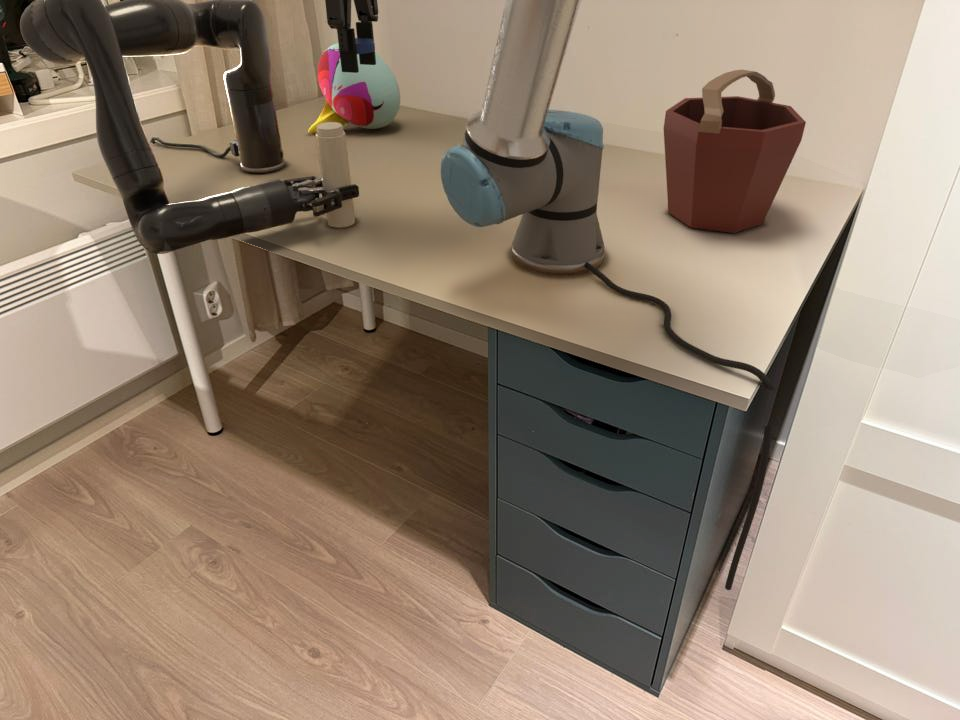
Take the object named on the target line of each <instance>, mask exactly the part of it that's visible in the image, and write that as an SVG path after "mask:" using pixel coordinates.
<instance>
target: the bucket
mask: <svg viewBox="0 0 960 720" xmlns="http://www.w3.org/2000/svg"><path fill="white" fill-rule="evenodd" d="M746 77H747V78H748V79H749V80H750V81H751V82H752V83H754V84H755V85H756V88H757V91H758V98H757V99H754V98H750V97H744V96H739V95H736V96H733V95H732V96H731V95H730V96H722V92H724V91H725V90H726V89H727V88H728V87H729V86H730V85H732V84H734V83H735V82H737V81H738V80H740V79H743V78H746ZM701 96H702V97H685V98H683V99H682V100H680V101H679V102H677V103H676V104H674V105H672V106H670V107H669V108H668V109H667V110H665V115H664V122H663V143H664V156H665V157H664V159H665V161H664V162H665V177H666V179H665V180H666V192H667V193H666V194H667V196H666V197H667V212H668V214H670V215H671V216H672V217H674V218H676V219H677V220H679V221H680V222H681V223H683V224H684V225H686V226H687V227H689V228H691V229H698V230H707V231H715V232H721V233H732V234H735V233H739V232H742V231H745V230H749V229H751V228H754V227H757V226H760V225H762V224H764V222H765V219H766V218H767V215H768V213H769V211H770V209H771V207H772V205H773V202H774V201H775V198H776V196H777V195H778V192H779V189H780V187H781V185H782V183H783V181H784V179H785V177H786V175H787V173H788V170H789V168H790V167H791V164H792V162H793V159H794V158H795V155H796V153H797V151H798V150H799V149H798V148H799V147H800V145H801V142H802V139H803V135H804V132H805V128H806V125H807V124H806V120H805V119H804V118H803V117H802V116H801V115H800V114H799V113H798V112H797V111H796V110H795V109H794V108H793V107H792V106H791V105H787V104H781V103H776V102H774V101H775V98H776V92H775V88H774V83H773V82H772V81H771V80H769V79H768V78H767V77H766V76H765V75H763V74H761V73H760V72H758V71H755V70H748V69H735V70H732V71H727V72H724V73H722V74H720V75H717V76H716V77H714V78H713V79H711V80H709V81H708V82H707V83H706V84H705V85H704V86H703V87H702V88H701Z"/></svg>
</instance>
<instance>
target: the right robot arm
mask: <svg viewBox="0 0 960 720" xmlns="http://www.w3.org/2000/svg"><path fill="white" fill-rule="evenodd" d="M581 2H582V0H505V4H504V7H503V8H504V9H503V12H502V16H501V21H500V26H499V30H498V35H497V39H496V43H495V48H494V53H493V58H492V60H491V61H492V62H491V66H490V70H489V76H488V80H487V84H486V89H485V93H484V98H483V103H482V105H481V110H479V111H476V112H475V113H473V114H472V115H471V116H470V117H469V118H468V120H467V122H466V123H467V124H466V128H465V132H464V136H463V141H462V144H461V145H454V146H452V147H451V148H450V149H448V150H447V151H445V153H444V155H443V156H442V158H441V162H440V178H441V179H440V180H441V184H442V188H443V191H444V194H445V195H446V198H447V200H448V203H449V204H450V206H451V208H452V209H453V210H454V212H455V213H456V214H457V215H458V216H459V218H460V219H462V221H464V222H465V223H467V224H469V225H470V226H473V227H477V228H485V227H489V226H493V225H500V224H502V223H503V222H506V221H508V220H511V219H514V218H517V217H519V216H521V218H520V220H519V224H518V226H517V229H516V232H515V234H514V237H513V240H512V243H511V244H512V245H511V257H512V259H513V261H514V262H515V263H516V264H517V265H519V267H521V268H524V269H526V270H528V271H530V272H532V273H533V272H534V273H537V274H541V275H547V276H558V277H559V276H560V277H561V276H573V275H574V276H575V275H580V274H584V273H588V272H590V273H592V274H593V275H594V276H596V277H597V278H598V279H599V280H600V281H601V282H603V283H604V284H605V285H606V286H607V287H609V289H611V290H612V291H614V292H616V293H618V294H620V295H622V296H624V297H629V298H633V299H637V300H641V301H646V302H650V303H653V304H655V305H657V306H659V307H660V308H661V309H662V310H663V313H664V316H663V329H664V332H665V333H666V335H667V336H668V337H669V339H670V340H672V342H674V343H675V344H676V345H678V346H680V347H681V348H683V349H685V350H686V351H688V352H690V353H692V354H694V355H696V356H698V357H700V358H702V359H703V360H706V361H708V362H710V363H713V364H715V365H718V366H721V367H722V366H723V367H726V368H733V369H738V370H741V371H746V372H748V373H750V374H752V375H754V376H755V377H756V378H758V379H759V380H760V381H761V383H762V384H763V386H764V387H765V389H767V390H770V391H774V390H775V386H774V385H773V382H772V381H771V380H770V378H769V377H768V376H767V375H766V373H764V372H763V371H762V370H761V369H759V368H758V367H756V366H754V365H751V364H749V363H746V362H742V361H738V360H731V359H728V358H722V357H719V356H716V355H713V354H711V353H709V352H707V351H706V350H703V349H701V348H699V347H697V346H695V345H693V344H692V343H689V342H687V341H686V340H684V339H683V338H682V337H680V335H678V334H677V333H676V332H675V331H674V330H673V328H672V326H671V321H672V311H671V308H670V306H669V305H668V303H667V302H665V301H664V300H662V299H661V298H659V297H656V296H654V295H651V294H646V293H643V292H642V293H641V292H637V291H633V290H629V289H626V288H624V287H621V286H619V285H617V284H615V283H614V282H613V281H612V280H611V279H610V278H608V277H607V276H606V275H605V274H604V273H602V271H600V270H599V269H598V267H599V266H600V265H601V264H602V263H603V261H604V258H605V249H606V247H605V242H604V239H603V233H602V230H601V226H600V222H599V218H598V213H597V212H598V199H599V189H600V182H601V181H600V180H601V171H602V170H601V169H602V161H603V160H602V159H603V150H604V148H605V146H604V126H603V125H602V122H601V121H599V120H598V119H597V118H595V117H594V116H591V115H589V114H585V113H584V114H583V113H581V112H575V111H567V110H562V109H561V110H559V109H550V106H551V104H552V99H553V95H554V93H555V90H556V86H557V83H558V79H559V76H560V73H561V70H562V66H563V63H564V60H565V56H566V54H567V53H566V52H567V49H568V46H569V43H570V40H571V36H572V33H573V30H574V26H575V22H576V19H577V16H578V12H579V9H580V5H581ZM324 3H325V13H326V22H327V25H328V27H329V28H330V29H333V30H336V33H337V39H338V40H337V43H339V51H340V60H341V68H342V72H351V73H357V72H359V69H358V59H357V50H356V41H355V38H369V39H373V40H374V41H375V37H374V36H375V35H374V27H373V26H374V25H373V22H376V23H377V22H378V21H379V5H378V0H353V4H354V7H355V12H356V16H357V20H358V21H356V22H355V28H353V27H352V0H324ZM355 31H356V32H355ZM375 53H376V50H375V51H373V52H371V53H366V54H359V60H360V64H363V65H376V57H375ZM773 425H774V424H773V422H771V423H769V424H767V425H765V426H764V428H763V439H762V446H761V454H760V460H759V465H758V471H757V477H756V481H755V484H754V489H753V493H752V496H751V500H750V503H749V506H748V510H747V512H746V516H745V519H744V523H743V526H742V528H741V532H740V535H739V539H738V541H737V544H736V546H735V547H736V548H735V550H734V553H733V557H732V560H731V563H730V567H729V570H728V574H727V577H726V581H725V586H724V589H725V590H727V591H731V590H732V589H733V584H734V580H735V576H736V574H737V570H738V566H739V564H740V560H741V557H742V554H743V552H744V551H743V550H744V548H745V546H746V545H745V544H746V542H747V539H748V536H749V532H750V530H751V527H752V524H753V521H754V518H755V515H756V511H757V508H758V505H759V501H760V498H761V494H762V492H763V491H762V490H763V487H764V482H765V478H766V474H767V468H768V463H769V457H770V452H771V445H772V444H771V443H772V436H773V435H772V434H773Z"/></svg>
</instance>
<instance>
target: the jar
mask: <svg viewBox="0 0 960 720" xmlns="http://www.w3.org/2000/svg"><path fill="white" fill-rule="evenodd" d="M315 139H316V148H317V154H318V161H319V168H320V176H321V177H320V178H322V185H323V187H324V188H325V189H335V188H337V189H338V188H340V187H345V186H349V185H352V182H351V181H352V180H351V173H350V163H349V156H348V147H347V137H346V132H345V131H344V125H342V124H340V123H336V122H327V123H322V124H319V125H317V133H315ZM327 195H330V194H327ZM327 195H326V196H327ZM332 200H334V199H332ZM325 214H326V220H327V225H328V226H329V227H332V228H338V229H340V228H347V227H351V226H352V225H354V224H355V223H356V216H355V207H354V198H352V199H348V200H344V201H342V207H341V208H339V209H336V210H333V211H331V212H328V213H325Z"/></svg>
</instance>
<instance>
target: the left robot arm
mask: <svg viewBox="0 0 960 720" xmlns="http://www.w3.org/2000/svg"><path fill="white" fill-rule="evenodd" d="M264 15H265V14H264V13H263V10H262V8H261V7H260V6H259V4H258V3H257V2H255V1H253V0H207V1H201V2H193V3H187V2H185V1H183V0H120V1H116V2H112V3H109V4H107V5H106V4H104V3H103V1H102V0H33V1H32V2H31V3H30V4H29V5H28V6H27V7H26V8H25V9H24V11H23V12H22V14H21V16H20V20H19V29H20V34H21V36H22V39H23V40H24V42H25V44H26V46H28V47H29V48H30V50H31V51H32V52H33V53H34V54H36V55H37V56H38V57H40V58H42V59H43V60H45V61H47V62H49V63H52V64H54V65H59V66H74V65H78V64H81V63H86V64H87V66H88V69H89V72H90V76H91V79H92V84H93V90H94V97H95V98H94V99H95V131H96V132H95V133H96V139H97V144H98V148H99V152H100V154H101V156H102V158H103V161H104V163H105V166H106V167H107V170H108V172H109V174H110V177H111V179H112V181H113V183H114V185H115V187H116V189H117V190H118V192H119V195H120V196H121V200H122V203H123V207H124V209H125V212H126V215H127V218H128V221H129V224H130V226H131V229H132V231H133V234H134V235H135V238H136V240H137V241H138V243H139V244H140V246H141V247H142V248H144V250H146V251H148V252H150V253H152V254H157V255H166V254H169V253H171V252H173V251H177V250H180V249H185V248H187V247H190V246H194V245H198V244H201V243H205V242H207V241H215V240H216V241H217V240H222V239H227V238H230V237H235V236H240V235H242V234H249V233H256V232H260V231H264V230H268V229H272V228H276V227H277V228H278V227H280V226H283V225H287V224H291V223H293V222H294V221H295V218H296V215H297V213H300V212H306V213H307V212H312V215H313V217H319V216H322V215H325V214H326V213H328V212H331V211H333V210H336V209H339V208H341V207H342V201H344V200H348V199H352V198H353V199H355V198H358V197H360V188H359V186H358V185H357V184H355V183H354V184H353V183H352V184H351V185H349V186H345V187H340V188H338V189H337V188H335V189H325V188H324V187H323V185H322V177H317V176H315V175H311V176H303V177H297V178H296V177H295V178H290V179H283V180H282V179H274V180H269V181H266V182H261V183H257V184H253V185H247V186H243V187H240V188H237V189H234V190H231V191H228V192H223V193H219V194H215V195H209V196H206V197H204V198H201V199H197V200H189V201H182V202H175V203H170V200H169V199H168V196H167V193H166V191H165V187H164V186H165V182H164V176H163V173H162V170H161V168H160V165H159V164H158V163H159V162H158V161H157V159H156V156H155V154H154V151H153V150H152V147H151V145H150V143H154V142H155V141H157V142H158V143H160V144H161V145H163V146H167V147H173V148H191V149H200V150H203V151H206V152H207V153H208V154H210V155H212V156H213V157H215V158H219V159H221V158H225V157H226V156H227V155H228V154H230V153H231V155H232V156H234V157H235V158H238V157H239V161H240V168H241V170H242V171H244V172H245V173H251V174H266V173H271V172H276V171H279V170H282V168H284V167H285V166H286V161H285V153H284V150H283V145H282V139H281V134H280V133H281V131H280V128H279V122H278V121H279V120H278V115H277V109H276V104H275V103H276V102H275V98H274V92H273V86H272V79H271V70H272V62H271V54H270V47H269V38H268V37H269V36H268V28H267V22H266V19H265V16H264ZM195 47H206V48H213V49H220V50H226V51H237V52H240V63H239V64H238V65H237V66H235V67H232V68H230V69H227V70H226V71H225V72H224V73H223V81H224V86H225V90H226V91H225V92H226V96H227V100H228V104H229V110H230V115H231V121H232V125H233V131H234V135H235V140H229V141H228V142H229V146H228V147H226V149H225V150H224V151H223V152H221V153H216V152H215V151H213V150H212V149H210V148H209V147H207V146H205V145H201V144H194V143H178V142H169V141H165V140H163V139H161V138H160V137H158V136H156V135H155V136H153V137H152V138H150V141H149V140H148V138H147V135H146V133H145V130H144V127H143V124H142V122H141V119H140V116H139V113H138V110H137V107H136V103H135V99H134V94H133V91H132V86H131V83H130V78H129V74H128V71H127V68H126V64H125V60H124V57H128V58H129V57H157V56H158V57H161V56H175V55H182V54H185V53H189V51H191V50H193V49H194V48H195ZM149 142H150V143H149ZM327 194H330V195H327ZM320 195H321V197H320ZM326 195H327V196H326ZM332 199H334V200H332Z"/></svg>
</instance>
